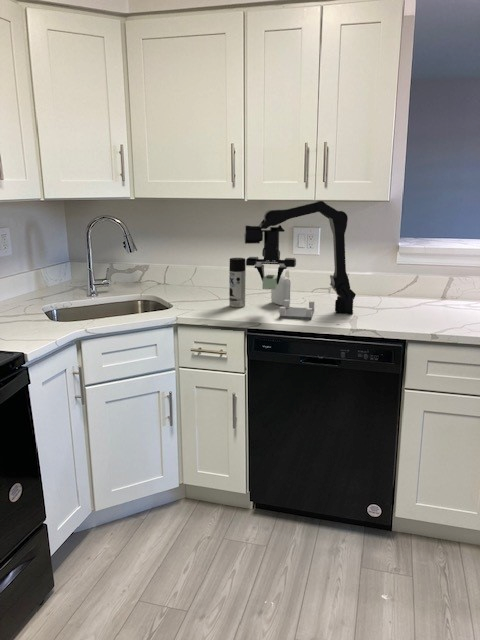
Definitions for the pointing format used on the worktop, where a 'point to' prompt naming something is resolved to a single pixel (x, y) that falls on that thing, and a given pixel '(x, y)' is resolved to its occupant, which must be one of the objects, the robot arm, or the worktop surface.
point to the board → (270, 282)
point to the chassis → (296, 311)
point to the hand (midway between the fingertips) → (270, 284)
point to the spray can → (237, 282)
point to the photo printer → (281, 291)
